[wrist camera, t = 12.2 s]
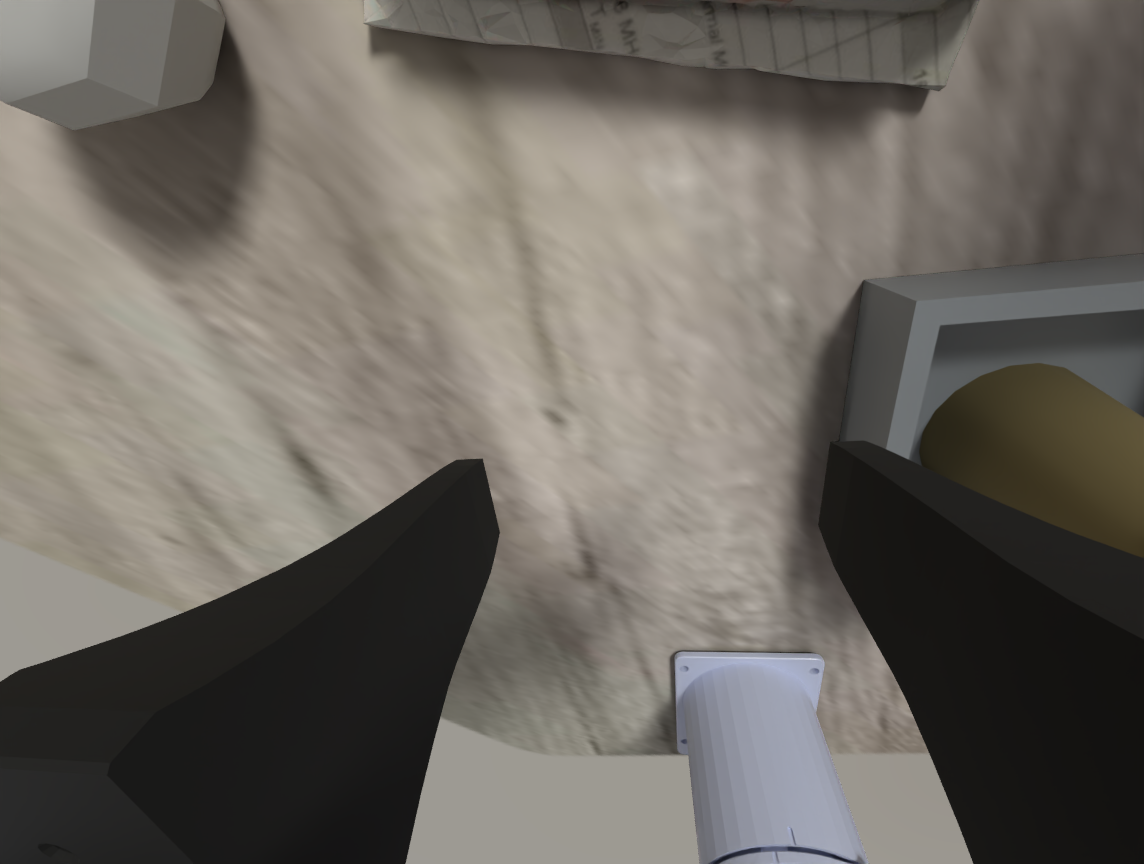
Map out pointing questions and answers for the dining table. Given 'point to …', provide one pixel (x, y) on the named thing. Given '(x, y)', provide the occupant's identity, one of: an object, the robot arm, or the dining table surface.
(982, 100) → the dining table surface
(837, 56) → the packaged product
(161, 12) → the apple
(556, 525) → the dining table surface
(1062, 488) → the cork
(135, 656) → the robot arm
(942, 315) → the tote
